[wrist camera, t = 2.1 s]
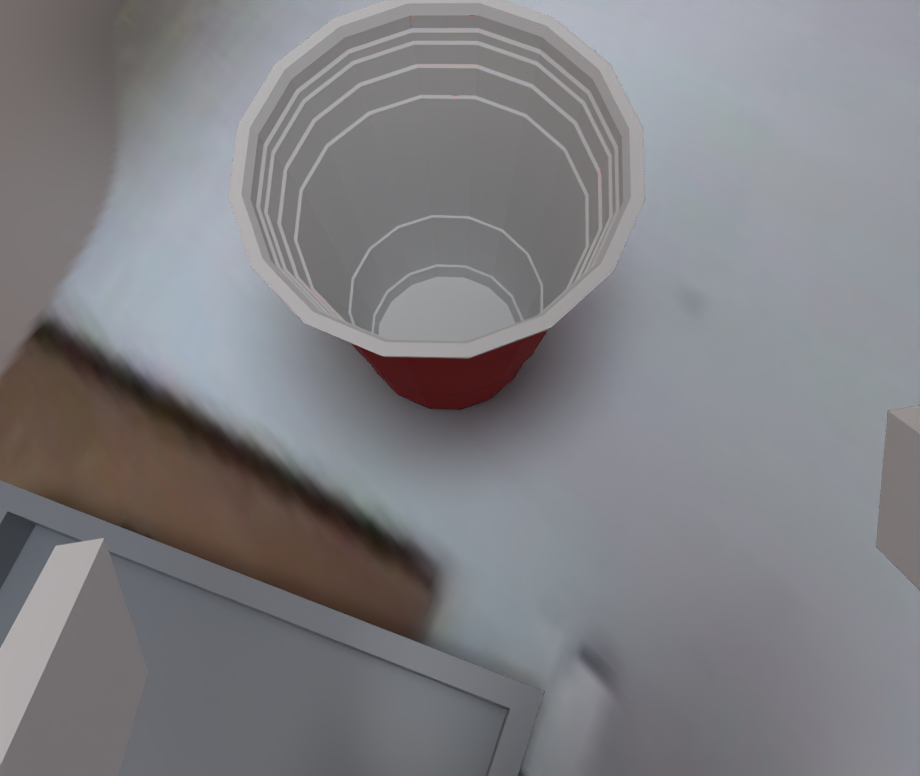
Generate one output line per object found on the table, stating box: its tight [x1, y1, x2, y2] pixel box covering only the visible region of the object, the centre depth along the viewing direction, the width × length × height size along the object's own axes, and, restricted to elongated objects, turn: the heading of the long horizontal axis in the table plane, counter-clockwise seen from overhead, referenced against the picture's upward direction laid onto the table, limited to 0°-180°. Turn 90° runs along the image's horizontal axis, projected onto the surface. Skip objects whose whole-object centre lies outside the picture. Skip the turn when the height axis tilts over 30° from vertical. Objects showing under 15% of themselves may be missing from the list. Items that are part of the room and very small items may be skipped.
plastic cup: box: [228, 0, 645, 410], centre depth 28 cm, size 11×11×12 cm
